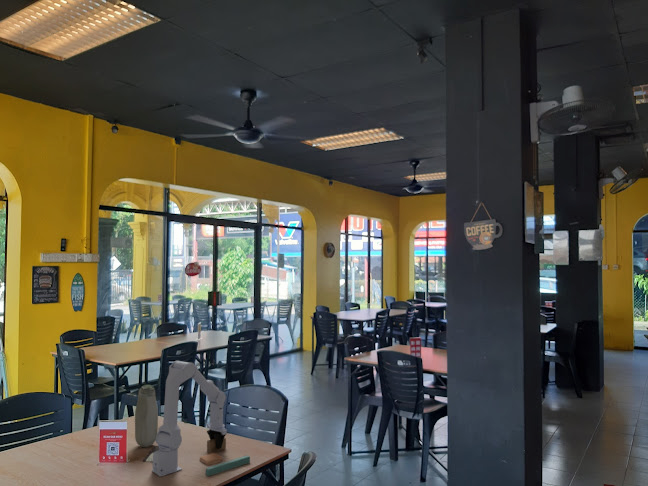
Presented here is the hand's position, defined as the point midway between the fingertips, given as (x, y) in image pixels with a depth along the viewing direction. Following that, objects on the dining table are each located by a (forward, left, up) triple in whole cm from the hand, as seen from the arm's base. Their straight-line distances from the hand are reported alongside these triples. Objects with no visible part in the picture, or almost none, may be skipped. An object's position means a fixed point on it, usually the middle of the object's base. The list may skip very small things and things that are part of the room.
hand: (216, 447), depth 225 cm
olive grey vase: (-21, +28, -2) cm, 35 cm away
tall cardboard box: (0, 0, -2) cm, 2 cm away
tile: (-8, -9, -2) cm, 12 cm away
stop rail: (-7, -22, -1) cm, 23 cm away
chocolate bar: (-21, +14, -2) cm, 25 cm away
